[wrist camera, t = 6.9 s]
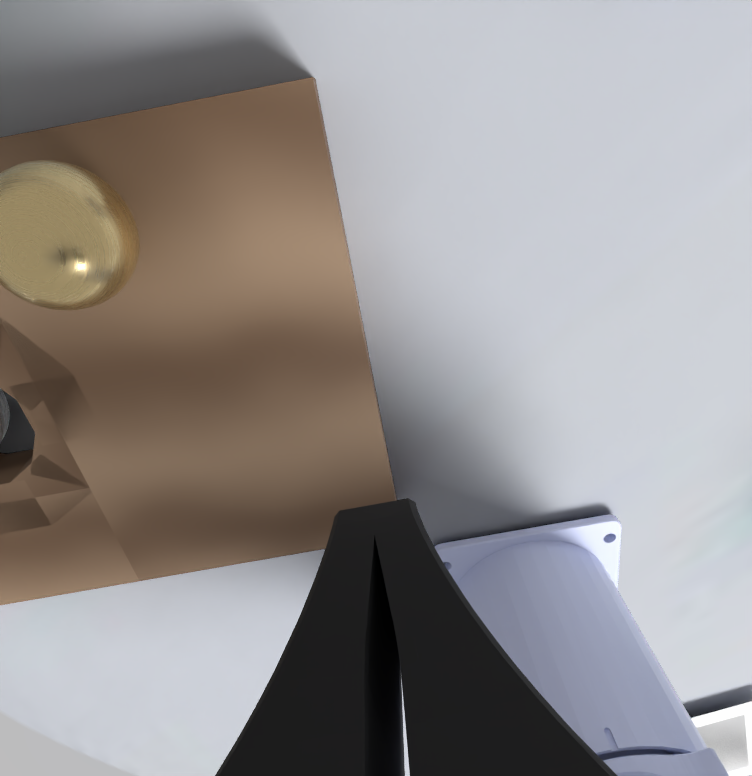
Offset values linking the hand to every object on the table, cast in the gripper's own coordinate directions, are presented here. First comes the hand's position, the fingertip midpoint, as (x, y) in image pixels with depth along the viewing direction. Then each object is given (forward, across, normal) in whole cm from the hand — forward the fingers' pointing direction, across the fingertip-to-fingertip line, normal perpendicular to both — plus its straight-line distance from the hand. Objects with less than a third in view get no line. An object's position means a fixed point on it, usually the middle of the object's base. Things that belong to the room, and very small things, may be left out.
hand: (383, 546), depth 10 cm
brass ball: (+6, +6, -5) cm, 10 cm away
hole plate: (+10, +9, 0) cm, 13 cm away
